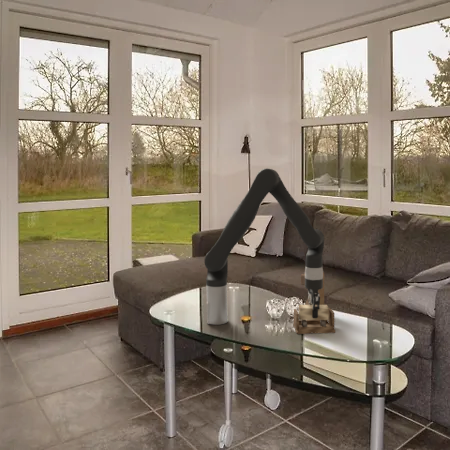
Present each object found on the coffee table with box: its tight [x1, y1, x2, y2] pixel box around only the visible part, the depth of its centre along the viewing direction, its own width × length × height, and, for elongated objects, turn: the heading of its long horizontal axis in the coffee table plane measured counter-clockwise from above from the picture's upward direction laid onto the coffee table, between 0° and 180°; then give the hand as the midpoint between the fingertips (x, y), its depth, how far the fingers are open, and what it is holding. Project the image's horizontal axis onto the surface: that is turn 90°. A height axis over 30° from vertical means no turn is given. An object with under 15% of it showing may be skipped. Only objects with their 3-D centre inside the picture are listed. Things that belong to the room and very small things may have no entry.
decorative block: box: [300, 271, 325, 305], centre depth 235 cm, size 11×6×20 cm, turn 132°
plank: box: [298, 304, 330, 320], centre depth 217 cm, size 12×5×5 cm, turn 86°
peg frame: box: [292, 307, 336, 335], centre depth 218 cm, size 16×10×8 cm, turn 91°
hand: (313, 315), depth 218 cm, fingers closed on plank, 5 cm apart
